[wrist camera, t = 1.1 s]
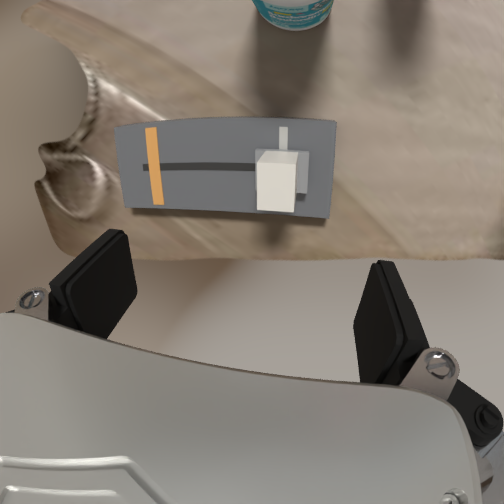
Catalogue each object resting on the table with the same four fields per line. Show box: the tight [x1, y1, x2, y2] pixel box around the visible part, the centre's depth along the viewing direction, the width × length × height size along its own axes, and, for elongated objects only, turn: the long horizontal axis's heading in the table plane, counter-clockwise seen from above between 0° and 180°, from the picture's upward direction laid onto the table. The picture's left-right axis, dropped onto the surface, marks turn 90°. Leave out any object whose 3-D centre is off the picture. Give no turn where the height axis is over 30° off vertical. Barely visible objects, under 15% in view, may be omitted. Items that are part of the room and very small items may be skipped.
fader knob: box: [255, 149, 309, 212], centre depth 26 cm, size 5×4×6 cm
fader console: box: [114, 117, 337, 219], centre depth 30 cm, size 24×10×2 cm, turn 91°
